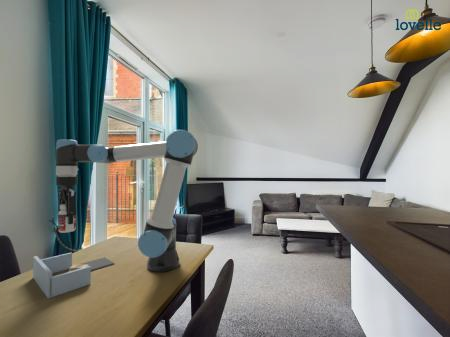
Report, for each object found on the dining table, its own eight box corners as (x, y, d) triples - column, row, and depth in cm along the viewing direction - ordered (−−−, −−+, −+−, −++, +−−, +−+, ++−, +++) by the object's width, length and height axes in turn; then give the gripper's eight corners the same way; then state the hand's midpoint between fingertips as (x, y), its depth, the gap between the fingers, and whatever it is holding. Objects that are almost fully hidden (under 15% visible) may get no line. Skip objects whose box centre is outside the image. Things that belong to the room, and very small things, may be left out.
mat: (114, 264, 112) (114, 262, 112) (89, 271, 104) (89, 270, 104) (104, 258, 119) (104, 257, 119) (81, 264, 111) (81, 263, 111)
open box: (90, 283, 93) (90, 261, 93) (47, 298, 82) (48, 273, 82) (71, 267, 108) (71, 248, 108) (33, 277, 98) (33, 256, 98)
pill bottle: (65, 233, 93) (65, 205, 93) (54, 232, 95) (54, 205, 95) (79, 229, 99) (79, 203, 99) (68, 228, 101) (68, 203, 101)
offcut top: (88, 269, 102) (88, 264, 102) (84, 272, 99) (84, 267, 99) (74, 269, 102) (74, 264, 102) (69, 272, 98) (69, 268, 98)
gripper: (85, 176, 94) (85, 232, 94) (69, 175, 106) (69, 225, 106) (64, 176, 88) (64, 236, 88) (49, 176, 100) (49, 228, 100)
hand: (67, 230), depth 97 cm, fingers closed on pill bottle, 6 cm apart
